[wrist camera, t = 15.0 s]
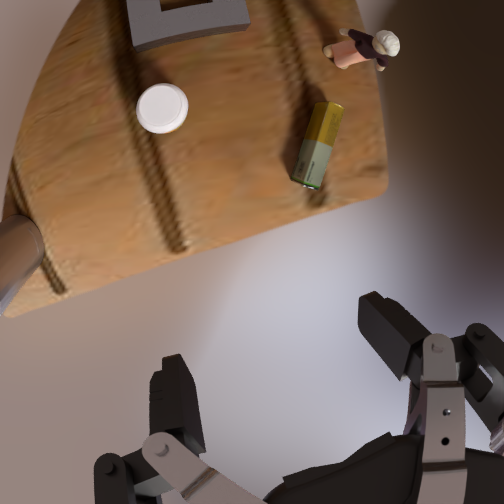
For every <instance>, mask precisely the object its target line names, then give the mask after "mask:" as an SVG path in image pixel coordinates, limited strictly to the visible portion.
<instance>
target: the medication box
mask: <svg viewBox="0 0 504 504" xmlns="http://www.w3.org/2000/svg"><path fill="white" fill-rule="evenodd" d="M344 110H345V109H344V108H343V107H341V106H339V105H338V104H335V103H333V102H330V101H328V102H319V103H315V106H314V109H313V112H312V115H311V118H310V121H309V124H308V127H307V130H306V133H305V136H304V139H303V143H302V146H301V149H300V152H299V155H298V158H297V161H296V164H295V167H294V170H293V173H292V176H291V181H293V182H295V183H298V184H300V185H301V186H305V187H307V188H310V189H314V190H319V187H320V184H321V181H322V178H323V175H324V172H325V169H326V166H327V163H328V160H329V157H330V154H331V151H332V148H333V145H334V142H335V139H336V135H337V132H338V129H339V126H340V123H341V119H342V116H343V113H344Z"/></svg>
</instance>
